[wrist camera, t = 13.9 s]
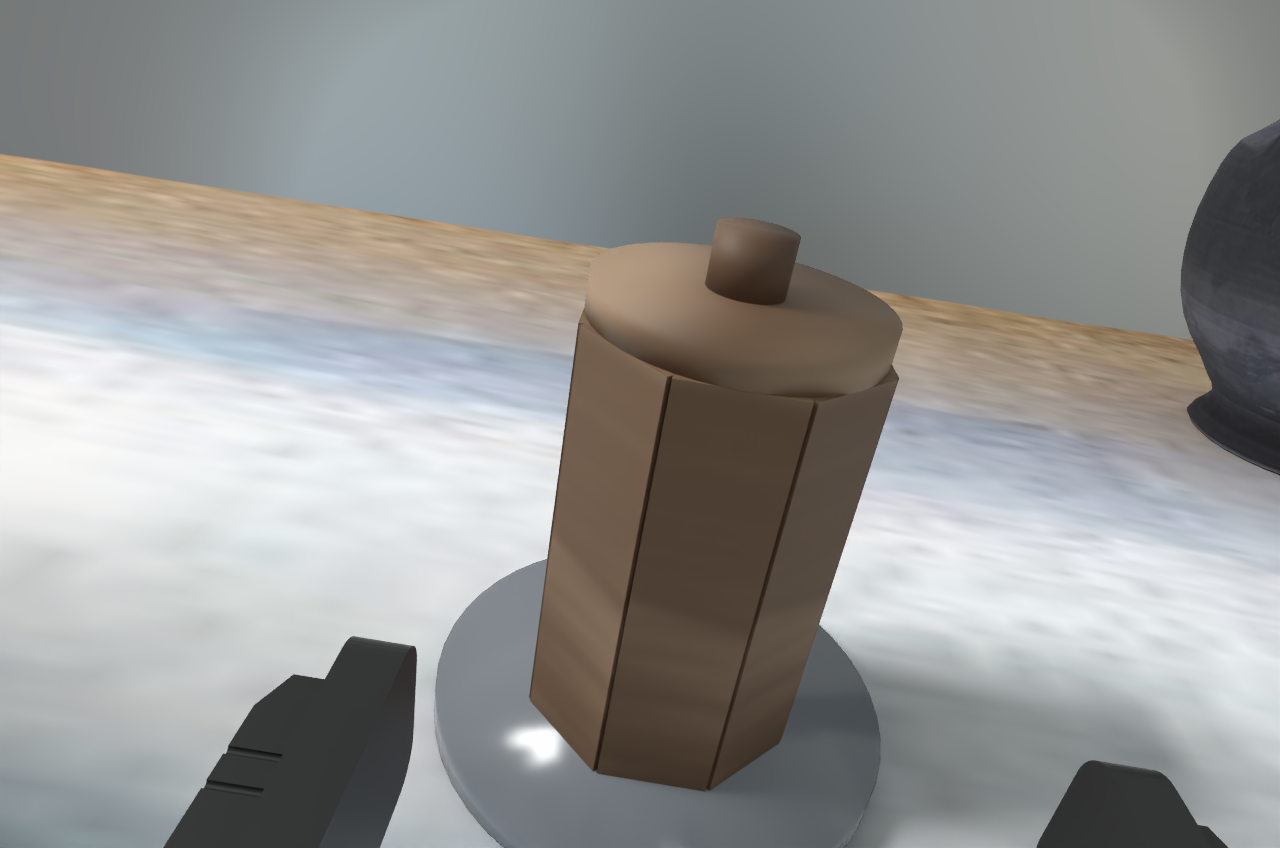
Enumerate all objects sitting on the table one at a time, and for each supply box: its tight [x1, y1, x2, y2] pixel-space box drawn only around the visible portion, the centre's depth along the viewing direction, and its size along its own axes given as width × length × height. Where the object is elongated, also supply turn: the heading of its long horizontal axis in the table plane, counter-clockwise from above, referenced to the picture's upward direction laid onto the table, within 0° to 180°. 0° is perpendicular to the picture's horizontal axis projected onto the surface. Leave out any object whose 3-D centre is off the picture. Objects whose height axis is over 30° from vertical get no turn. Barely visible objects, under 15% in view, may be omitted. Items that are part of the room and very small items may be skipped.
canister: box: [529, 217, 903, 792], centre depth 18 cm, size 6×6×12 cm
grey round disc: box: [434, 559, 880, 848], centre depth 21 cm, size 11×11×1 cm
